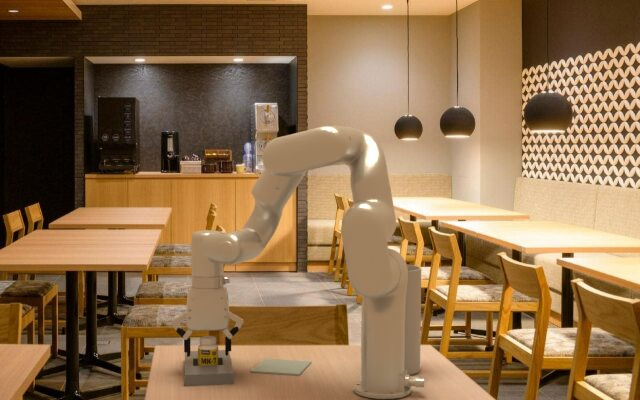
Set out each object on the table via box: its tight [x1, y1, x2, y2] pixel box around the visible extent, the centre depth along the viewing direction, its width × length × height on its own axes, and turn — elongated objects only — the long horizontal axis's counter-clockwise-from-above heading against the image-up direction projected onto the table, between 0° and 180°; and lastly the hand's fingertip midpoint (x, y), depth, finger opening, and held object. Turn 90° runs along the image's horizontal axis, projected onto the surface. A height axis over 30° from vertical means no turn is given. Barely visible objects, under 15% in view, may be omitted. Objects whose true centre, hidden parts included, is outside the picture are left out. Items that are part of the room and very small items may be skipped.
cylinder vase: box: [404, 264, 422, 376], centre depth 203 cm, size 12×12×25 cm
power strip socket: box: [184, 349, 235, 387], centre depth 202 cm, size 22×11×3 cm, turn 9°
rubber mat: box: [250, 358, 312, 377], centre depth 206 cm, size 12×12×1 cm
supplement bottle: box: [197, 335, 219, 366], centre depth 202 cm, size 5×5×8 cm
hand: (207, 354), depth 202 cm, fingers open, 8 cm apart
